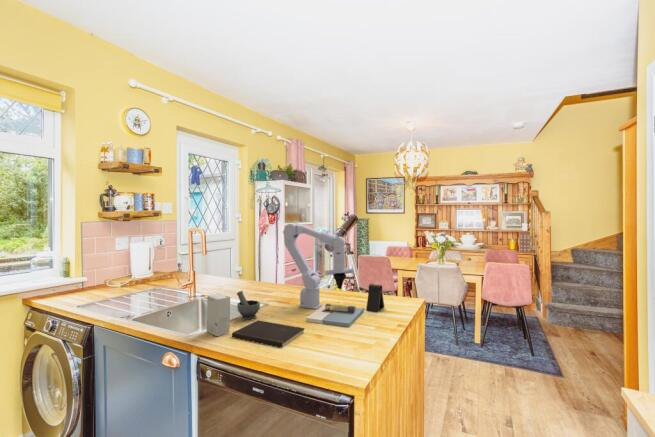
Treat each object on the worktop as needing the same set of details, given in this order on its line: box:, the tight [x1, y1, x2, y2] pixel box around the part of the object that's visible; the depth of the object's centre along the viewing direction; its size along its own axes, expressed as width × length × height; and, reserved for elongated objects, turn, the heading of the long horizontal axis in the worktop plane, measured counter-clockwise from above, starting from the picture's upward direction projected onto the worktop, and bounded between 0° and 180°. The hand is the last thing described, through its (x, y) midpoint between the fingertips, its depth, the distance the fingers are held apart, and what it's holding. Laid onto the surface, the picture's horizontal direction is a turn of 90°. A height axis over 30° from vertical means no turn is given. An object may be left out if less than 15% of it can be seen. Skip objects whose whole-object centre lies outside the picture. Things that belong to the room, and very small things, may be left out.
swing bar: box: [325, 303, 356, 312], centre depth 149 cm, size 14×3×2 cm, turn 75°
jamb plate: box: [305, 304, 333, 324], centre depth 148 cm, size 7×22×2 cm, turn 158°
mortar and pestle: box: [236, 290, 261, 321], centre depth 144 cm, size 11×9×12 cm
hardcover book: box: [231, 320, 306, 348], centre depth 124 cm, size 16×23×2 cm
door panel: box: [322, 304, 364, 328], centre depth 144 cm, size 12×22×3 cm, turn 158°
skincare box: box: [205, 293, 231, 337], centre depth 127 cm, size 8×6×15 cm
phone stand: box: [365, 283, 385, 313], centre depth 157 cm, size 9×6×12 cm, turn 149°
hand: (339, 288), depth 158 cm, fingers closed
